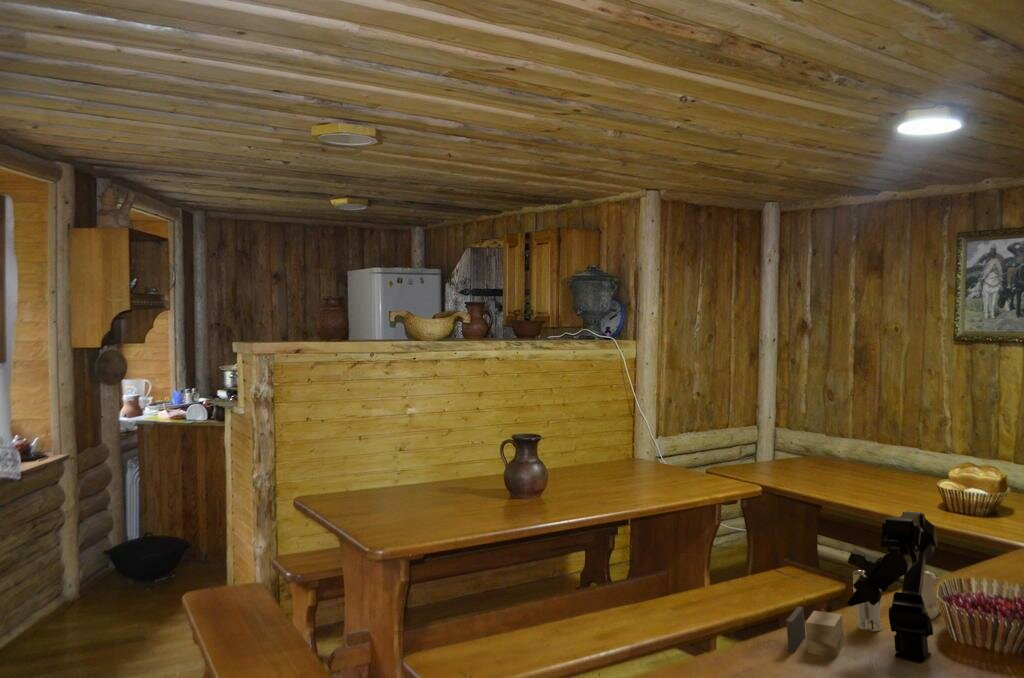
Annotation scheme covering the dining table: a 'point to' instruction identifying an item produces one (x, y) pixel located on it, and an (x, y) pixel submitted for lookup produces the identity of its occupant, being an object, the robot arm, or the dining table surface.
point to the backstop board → (795, 629)
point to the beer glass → (867, 611)
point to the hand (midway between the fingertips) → (848, 604)
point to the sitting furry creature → (930, 594)
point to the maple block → (824, 634)
